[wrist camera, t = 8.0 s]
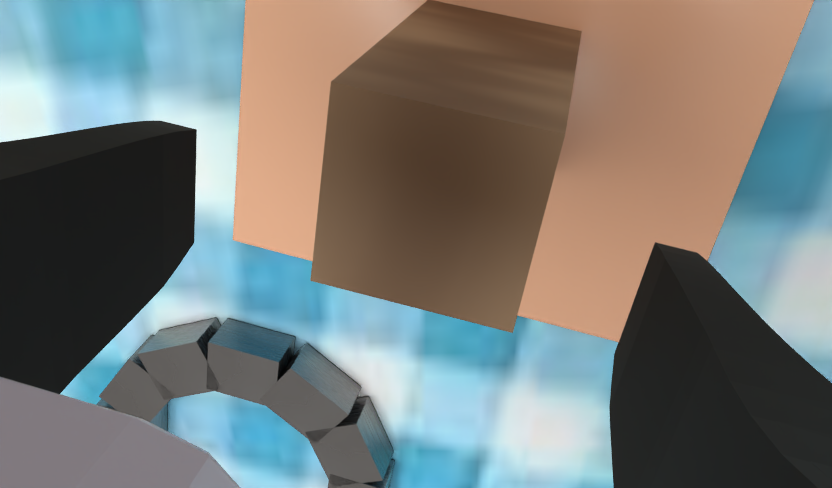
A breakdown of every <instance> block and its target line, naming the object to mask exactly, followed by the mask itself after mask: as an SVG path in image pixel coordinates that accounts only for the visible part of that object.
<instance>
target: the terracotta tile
mask: <svg viewBox="0 0 832 488" xmlns="http://www.w3.org/2000/svg"><path fill="white" fill-rule="evenodd" d="M426 1H427V0H246V4H245V22H244V41H243V60H242V78H241V97H240V116H239V134H238V153H237V172H236V191H235V209H234V228H233V240H234V241H238V242H242V243H246V244H249V245H253V246H257V247H261V248H265V249H268V250H272V251H276V252H280V253H283V254H287V255H291V256H295V257H299V258H302V259H306V260H310V261H313V252H314V242H315V232H316V222H317V213H318V203H319V193H320V183H321V173H322V164H323V154H324V144H325V134H326V125H327V115H328V105H329V95H330V85H331V81H332V80H333V79H335V78H336V77H337V76H338V75H339V74H341V73H342V72H343V71H344V70H345V69H346V68H348V67H349V66H350V65H351V64H352V63H354V62H355V61H356V60H357V59H358V58H360V57H361V56H362V55H363V54H364V53H366V52H367V51H368V50H369V49H370V48H371V47H373V46H374V45H375V44H376V43H377V42H379V41H380V40H381V39H382V38H383V37H385V36H386V35H387V34H388V33H389V32H390V31H392V30H393V29H394V28H395V27H396V26H398V25H399V24H400V23H401V22H402V21H404V20H405V19H406V18H407V17H408V16H409V15H411V14H412V13H413V12H414V11H415V10H417V9H418V8H419V7H420V6H421V5H423V4H424V3H425V2H426ZM434 1H439V2H444V3H448V4H453V5H458V6H463V7H468V8H473V9H477V10H482V11H487V12H492V13H497V14H502V15H506V16H511V17H516V18H521V19H526V20H530V21H535V22H540V23H545V24H550V25H555V26H559V27H564V28H569V29H574V30H579V31H582V32H581V38H580V45H579V51H578V57H577V64H576V70H575V76H574V83H573V89H572V95H571V102H570V108H569V114H568V120H567V127H566V133H565V137H564V141H563V145H562V149H561V152H560V156H559V160H558V164H557V167H556V171H555V175H554V179H553V183H552V186H551V190H550V194H549V198H548V201H547V205H546V209H545V213H544V216H543V220H542V224H541V228H540V232H539V235H538V239H537V243H536V247H535V250H534V254H533V258H532V262H531V265H530V269H529V273H528V277H527V281H526V284H525V288H524V292H523V296H522V299H521V303H520V307H519V311H518V314H517V315H518V316H522V317H526V318H529V319H533V320H537V321H541V322H544V323H548V324H552V325H556V326H560V327H563V328H567V329H571V330H575V331H578V332H582V333H586V334H590V335H594V336H597V337H601V338H605V339H609V340H613V341H616V342H619V340H620V337H621V335H622V332H623V329H624V326H625V323H626V321H627V318H628V315H629V312H630V310H631V307H632V304H633V301H634V299H635V296H636V293H637V290H638V288H639V285H640V282H641V279H642V277H643V274H644V271H645V268H646V265H647V263H648V260H649V257H650V254H651V252H652V249H653V246H654V243H655V242H656V243H660V244H664V245H668V246H672V247H677V248H681V249H685V250H689V251H693V252H697V253H698V254H700V255H701V256H702V257H703V258H704V259H705V260H707V261H708V258H709V256H710V253H711V251H712V249H713V246H714V244H715V241H716V239H717V236H718V234H719V231H720V229H721V227H722V224H723V222H724V219H725V217H726V214H727V212H728V209H729V207H730V205H731V202H732V200H733V197H734V195H735V192H736V190H737V187H738V185H739V183H740V180H741V178H742V175H743V173H744V170H745V168H746V165H747V163H748V161H749V158H750V156H751V153H752V151H753V148H754V146H755V143H756V141H757V139H758V136H759V134H760V131H761V129H762V126H763V124H764V121H765V119H766V117H767V114H768V112H769V109H770V107H771V104H772V102H773V99H774V97H775V95H776V92H777V90H778V87H779V85H780V82H781V80H782V78H783V75H784V73H785V70H786V68H787V65H788V63H789V60H790V58H791V56H792V53H793V51H794V48H795V46H796V43H797V41H798V38H799V36H800V34H801V31H802V29H803V26H804V24H805V21H806V19H807V16H808V14H809V12H810V9H811V7H812V4H813V2H814V0H434Z"/></svg>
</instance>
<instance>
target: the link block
mask: <svg viewBox="0 0 832 488" xmlns="http://www.w3.org/2000/svg"><path fill="white" fill-rule="evenodd" d="M581 32H582V31H579V30H574V29H569V28H564V27H559V26H555V25H550V24H545V23H540V22H535V21H530V20H526V19H521V18H516V17H511V16H506V15H502V14H497V13H492V12H487V11H482V10H477V9H473V8H468V7H463V6H458V5H453V4H448V3H444V2H439V1H434V0H427V1H426V2H425V3H424V4H423V5H421V6H420V7H419V8H418V9H417V10H415V11H414V12H413V13H412V14H411V15H409V16H408V17H407V18H406V19H405V20H404V21H402V22H401V23H400V24H399V25H398V26H396V27H395V28H394V29H393V30H392V31H390V32H389V33H388V34H387V35H386V36H385V37H383V38H382V39H381V40H380V41H379V42H377V43H376V44H375V45H374V46H373V47H371V48H370V49H369V50H368V51H367V52H366V53H364V54H363V55H362V56H361V57H360V58H358V59H357V60H356V61H355V62H354V63H352V64H351V65H350V66H349V67H348V68H346V69H345V70H344V71H343V72H342V73H341V74H339V75H338V76H337V77H336V78H335V79H333V80H332V81H331V85H330V95H329V105H328V115H327V125H326V134H325V144H324V154H323V164H322V173H321V183H320V193H319V203H318V213H317V222H316V232H315V242H314V252H313V261H312V271H311V281H314V282H318V283H322V284H326V285H329V286H333V287H337V288H341V289H345V290H349V291H353V292H357V293H360V294H364V295H368V296H372V297H376V298H380V299H384V300H388V301H391V302H395V303H399V304H403V305H407V306H411V307H415V308H419V309H422V310H426V311H430V312H434V313H438V314H442V315H446V316H450V317H453V318H457V319H461V320H465V321H469V322H473V323H477V324H480V325H484V326H488V327H492V328H496V329H500V330H504V331H508V332H511V333H513V330H514V326H515V322H516V318H517V314H518V311H519V307H520V303H521V299H522V296H523V292H524V288H525V284H526V281H527V277H528V273H529V269H530V265H531V262H532V258H533V254H534V250H535V247H536V243H537V239H538V235H539V232H540V228H541V224H542V220H543V216H544V213H545V209H546V205H547V201H548V198H549V194H550V190H551V186H552V183H553V179H554V175H555V171H556V167H557V164H558V160H559V156H560V152H561V149H562V145H563V141H564V137H565V133H566V127H567V120H568V114H569V108H570V102H571V95H572V89H573V83H574V76H575V70H576V64H577V57H578V51H579V45H580V38H581Z"/></svg>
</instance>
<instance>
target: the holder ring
mask: <svg viewBox="0 0 832 488" xmlns="http://www.w3.org/2000/svg"><path fill="white" fill-rule="evenodd" d="M294 343H295V337H294V336H290V335H286V334H283V333H279V332H276V331H272V330H268V329H265V328H261V327H257V326H254V325H250V324H247V323H243V322H239V321H236V320H232V319H229V318H227V320H226V321H225V322H224V323H223V325H222V326H221V325H220V324H219V322H218V320H217V318H213V319H208V320H204V321H199V322H195V323H190V324H185V325H181V326H176V327H172V328H167V329H163V330H159V331H158V332H157V333H156V334H155V336H152V335H151V336H150V337H149V338H148V339H147V340H146V341H145V342H144V343H143V345H142V346H141V347H140V348H139V349H138V350H137V351H136V352H135V353H134V354H133V355H132V356H131V357H130V358H129V360H128V361H127V362H126V363H125V365H124V366H123V367H122V368H121V369H120V371H119V372H118V373H117V374H116V376H115V377H114V378H113V379H112V381H111V382H110V383H109V384H108V386H107V387H106V388H105V389H104V391H103V392H102V393H101V394H100V396H99V397H100V398H102V399H101V400H100V401H99V402H98V403H97V405H98V406H101V407H104V408H108V409H111V410H114V411H118V412H121V413H125V414H128V415H131V416H135V417H138V418H142V419H144V420H146V421H148V422H150V423H152V424H154V425H156V426H158V427H160V428H162V429H164V430H165V431H167V404H168V401H169V400H170V399H172V398H178V397H183V396H189V395H194V394H200V393H205V392H211V391H217V392H221V393H224V394H227V395H231V396H234V397H238V398H241V399H245V400H248V401H252V402H255V403H258V404H262V405H265V406H267V407H268V408H270V409H271V410H272V411H273V412H275V413H276V414H277V415H279V416H280V417H281V418H282V419H284V420H285V421H286V422H287V423H289V424H290V425H291V426H292V427H294V428H295V429H296V430H298V431H299V432H300V433H301V434H303V435H304V436H305V437H306V438H308V439H309V441H310V443H311V445H312V447H313V449H314V451H315V453H316V455H317V457H318V459H319V461H320V463H321V465H322V467H323V469H324V471H325V473H326V475H327V477H328V479H329V483H328V488H389V486H390V481H391V476H392V471H393V466H394V461H395V460H393V459H391V457H392V454H393V449H392V446H391V444H390V442H389V440H388V438H387V435H386V433H385V431H384V429H383V427H382V424H381V422H380V420H379V418H378V416H377V414H376V411H375V409H374V407H373V405H372V403H371V400H370V398H369V396H368V397H362V398H357V396H358V394H359V391H360V389H361V387H360V386H359V385H358V384H357V383H356V382H354V381H353V380H352V379H351V378H349V377H348V376H347V375H346V374H344V373H343V372H342V371H341V370H339V369H338V368H337V367H336V366H335V365H333V364H332V363H331V362H330V361H328V360H327V359H326V358H325V357H323V356H322V355H321V354H320V353H318V352H317V351H316V350H315V349H314V348H312V347H311V346H310V345H309V344H307V343H305V344H304V345H303V346H302V347H301V348H300V349H299V350H298V352H297V353H296V354H295V355H294V356H293V353H294Z"/></svg>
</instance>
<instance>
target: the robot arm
mask: <svg viewBox="0 0 832 488" xmlns="http://www.w3.org/2000/svg"><path fill="white" fill-rule="evenodd" d="M196 131H197V130H196V129H192V128H188V127H183V126H179V125H175V124H171V123H167V122H163V121H140V122H130V123H122V124H115V125H108V126H102V127H96V128H90V129H84V130H78V131H72V132H66V133H60V134H54V135H48V136H42V137H36V138H29V139H22V140H15V141H8V142H1V143H0V488H240V487H239V486H238V485H237V483H236V482H235V481H234V480H233V479H232V478H231V477H230V476H229V475H228V473H227V472H226V471H225V470H224V469H223V468H222V467H221V466H220V465H219V463H218V462H217V461H216V460H215V459H214V458H213V457H212V456H211V455H210V453H208V452H207V451H205V450H203V449H201V448H199V447H197V446H195V445H193V444H191V443H189V442H187V441H185V440H183V439H181V438H179V437H177V436H175V435H173V434H171V433H169V432H167V431H165V430H164V429H162V428H160V427H158V426H156V425H154V424H152V423H150V422H148V421H146V420H144V419H142V418H138V417H135V416H131V415H128V414H125V413H121V412H118V411H114V410H111V409H108V408H104V407H101V406H98V405H94V404H91V403H87V402H84V401H81V400H77V399H74V398H70V397H67V396H64V395H60V393H61V392H62V391H63V390H64V389H65V388H66V386H67V385H68V384H69V383H70V382H71V381H72V380H73V379H74V378H75V376H76V375H77V374H78V373H79V372H80V371H81V370H82V369H83V368H84V367H85V366H86V365H87V364H88V363H89V362H90V361H91V360H92V359H93V358H94V357H95V356H96V355H97V354H98V353H99V352H100V351H101V350H102V349H103V348H104V347H105V346H106V345H107V344H108V343H109V342H110V341H111V340H112V339H113V338H114V337H115V336H116V335H117V334H118V333H119V332H120V331H121V330H122V329H123V328H124V327H125V326H126V325H127V324H128V323H129V322H130V321H131V320H132V319H133V318H134V317H135V316H136V315H137V314H138V313H139V312H140V310H141V309H142V308H143V307H144V306H145V305H146V304H147V303H148V302H149V301H150V300H151V299H152V298H153V297H154V296H155V295H156V294H157V293H158V292H159V291H160V289H161V288H162V287H163V286H164V285H165V283H166V282H167V281H168V279H169V278H170V277H171V275H172V274H173V273H174V271H175V270H176V269H177V267H178V266H179V264H180V263H181V261H182V260H183V258H184V257H185V255H186V254H187V252H188V251H189V249H190V248H191V246H192V245H193V243H194V221H195V176H196ZM610 429H611V448H612V465H613V482H614V488H832V383H831V382H830V381H829V380H827V379H826V378H825V377H824V376H823V375H821V374H820V373H819V372H818V371H817V370H816V369H814V368H813V367H812V366H811V365H810V364H809V363H808V362H807V361H806V360H805V359H803V358H802V357H801V356H800V355H799V354H798V353H797V352H796V351H795V350H794V349H792V348H791V347H790V346H789V345H788V344H787V343H786V342H785V341H784V340H783V339H782V338H781V337H780V336H779V335H778V334H777V333H776V332H775V331H774V330H773V329H772V328H771V327H770V326H769V325H768V324H767V323H766V322H765V321H764V320H763V319H762V318H761V317H760V316H759V315H758V314H757V313H756V312H755V311H754V310H753V309H752V308H751V307H750V306H749V305H748V304H747V303H746V302H745V301H744V299H743V298H742V297H741V296H740V295H739V294H738V293H737V292H736V291H735V290H734V289H733V288H732V287H731V285H730V284H729V283H728V282H727V281H726V280H725V279H724V278H723V277H722V276H721V275H720V274H719V273H718V272H717V271H716V270H715V268H714V267H713V266H712V265H711V264H710V263H709V262H708V261H707V260H705V259H704V258H703V257H702V256H701V255H700V254H698V253H697V252H693V251H689V250H685V249H681V248H677V247H672V246H668V245H664V244H660V243H656V242H655V243H654V246H653V249H652V252H651V254H650V257H649V260H648V263H647V265H646V268H645V271H644V274H643V277H642V279H641V282H640V285H639V288H638V290H637V293H636V296H635V299H634V301H633V304H632V307H631V310H630V312H629V315H628V318H627V321H626V323H625V326H624V329H623V332H622V335H621V337H620V340H619V343H618V346H617V348H616V351H615V355H614V365H613V374H612V384H611V396H610Z"/></svg>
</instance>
